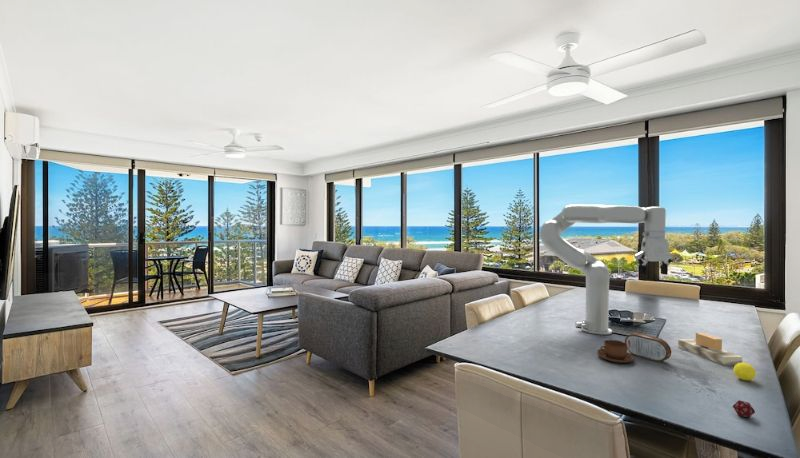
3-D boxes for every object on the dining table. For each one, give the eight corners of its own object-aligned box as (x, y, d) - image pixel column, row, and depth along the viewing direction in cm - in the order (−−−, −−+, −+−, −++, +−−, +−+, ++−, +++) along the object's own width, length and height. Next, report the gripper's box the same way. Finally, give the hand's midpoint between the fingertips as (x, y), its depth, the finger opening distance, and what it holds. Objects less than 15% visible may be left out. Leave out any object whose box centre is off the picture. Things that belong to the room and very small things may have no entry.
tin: (671, 363, 136) (672, 340, 135) (667, 365, 134) (668, 341, 134) (627, 351, 148) (627, 330, 148) (623, 352, 146) (623, 331, 146)
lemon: (754, 385, 118) (754, 368, 118) (731, 379, 122) (731, 363, 122) (757, 379, 122) (757, 363, 122) (735, 374, 126) (735, 358, 126)
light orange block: (721, 359, 140) (722, 339, 140) (714, 359, 140) (714, 339, 140) (702, 351, 148) (702, 332, 148) (695, 351, 148) (695, 332, 148)
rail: (742, 365, 134) (742, 356, 134) (724, 365, 134) (724, 357, 134) (693, 346, 154) (694, 339, 154) (678, 346, 154) (678, 339, 154)
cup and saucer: (621, 367, 131) (621, 350, 131) (590, 356, 142) (590, 340, 142) (641, 362, 137) (641, 345, 137) (609, 352, 147) (610, 336, 147)
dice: (755, 422, 96) (755, 407, 96) (732, 416, 99) (732, 401, 99) (755, 416, 98) (755, 401, 98) (732, 410, 101) (732, 396, 101)
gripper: (642, 235, 159) (641, 275, 159) (680, 235, 161) (679, 275, 161) (629, 234, 167) (629, 273, 167) (666, 235, 168) (665, 273, 168)
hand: (653, 274), depth 164 cm, fingers open, 9 cm apart
